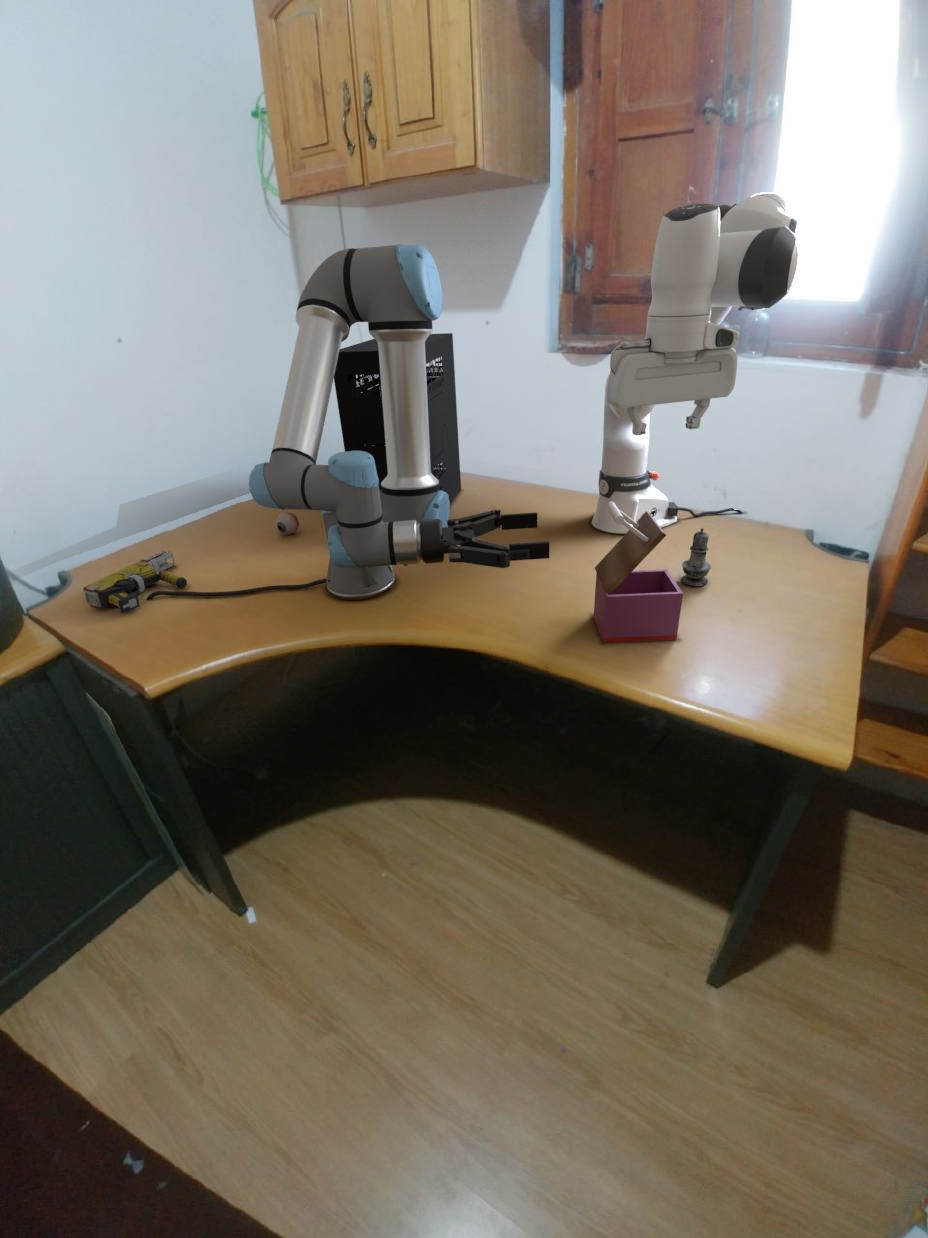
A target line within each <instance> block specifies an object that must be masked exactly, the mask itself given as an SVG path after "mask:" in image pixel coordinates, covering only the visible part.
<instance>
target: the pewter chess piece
mask: <svg viewBox="0 0 928 1238" xmlns="http://www.w3.org/2000/svg"><path fill="white" fill-rule="evenodd" d="M708 543H709V534H708V533H707V532H706V531H705V529H704V527H701V528H700V530H699V531H697V532H695V533H694V534H693V539H692V545H691V546H690V547H689V549H690V556H689V558H688V559H685V560H684V561H683V562H682V563H681V566H682V570H683V573H684V575H683V576H681V582H682V583H683V584H685V585H688V586H692V587H702V586H705V585H707V584H708V579H707V578H706V576H707V575H708V574H709V572H710V571H711V569H712V565H711V563H709V561H706V558H707V552H709V548H708Z"/></svg>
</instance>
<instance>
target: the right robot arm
mask: <svg viewBox="0 0 928 1238" xmlns="http://www.w3.org/2000/svg"><path fill="white" fill-rule="evenodd" d="M800 240H801V224H800V221H799V220H798V219H797V218H795V217H794V210H793V206H792V203H791V202H790V201H789V199H788V198H787V197H786V196H784V195H782V194H781V193H779V192H778V193H777V192H772V191H771V192H770V191H769V192H767V191H765V192H759V193H755V194H753V195H750V196H749V197H746V198H744V199H743V200H741V201H739V202H738V203H734V204H733V205H729V204H719V205H716V204H714V203H713V204H712V203H695V204H689V205H685V206H680V207H676V208H673V209H671V210H669V211H667V212H666V213H665V214H664V215H663V216H662V217H661V220H660V224H659V227H658V230H657V236H656V241H655V245H654V251H653V258H652V264H651V265H652V266H651V274H650V286H651V302H650V306H649V308H648V311H647V319H646V329H645V330H646V331H645V337H644V338H642V339H637V340H624V341H621V342H619V344H618V345H616V346H615V347H614V348H613V350H612V351H611V353H610V358H609V359H610V360H609V367H610V371H609V374H608V376H607V378H606V379H605V384H604V400H603V401H604V403H603V431H602V432H603V435H602V436H603V437H602V453H601V468H600V470H599V474H598V492H599V493H598V498H597V502H596V507H595V511H594V514H593V517H592V520H591V525H592V526H593V527H594V528H595V529H597V530H599V531H601V532H605V533H611V534H623V535H625V534H626V533H627V532H628V531H629V529H627V528H626V527H625V526H623V525H622V524H620V525H618V524H616V522H615V521H614V519H613V517H612V516H611V514H610V512H609V510H608V509H607V503H609V502H614V503H615V505H616V506H617V508H618V509H619V510H620V511H622V512H623V513H624V514H626V515H627V516H628V517H630V518H631V519H632V520H634V521H635V522H637V521H638V520H639V519H640V518H641V517H642V515H643V514H644V513H645V512H646V511H647V512H648V513H650V514H651V515H652V517H653V518H654V519H655V521H656V522H657V523H658V525H659V526H660V527H661V529H662V528H665V527H668V526H670V525H672V524H675V523H677V522H678V513H679V511H681V512H682V511H683V512H688V513H690V514H691V516H693V517H695V518H697V517H702V516H704V515H718V514H724V513H728V512H736V513H738V514H740V515H741V514H744V512H743V511H742V510H740V509H739V510H734V509H733V508H734V507H729V508H724V509H721V510H710V511H709V510H708V511H702V512H699V513H696V512H694V510H692V509H690V508H687V507H678V505H677V504H676V503H675V502H674V501H669V498H668V497H667V496H666V495H665V494H664V493H663V492H661V491H660V490H659V489H658V488H656V487H655V486H654V485H652V483H651V480H653V481H658V479H659V478H660V473H659V472H657V471H654V470H651V471H649V470H648V469H647V466H648V458H649V457H648V455H649V447H650V413H652V411H653V410H654V408H655V406H656V405H657V406H658V405H664V404H665V405H666V404H675V403H683V402H693V405H696V406H695V407H694V409H693V411H692V413H691V415H688V416H686V419H685V421H686V423H685V429H688V430H696V429H699V428H700V427H701V420H702V418H703V417H704V415H705V413H706V412H707V410H708V409H709V407H710V403H711V399H720V398H727V397H729V396H730V395H731V393H732V392H733V390H734V388H735V385H736V377H737V370H738V353H737V351H736V349H735V348H734V347H736V346H737V345H738V344H739V340H740V332H739V331H738V330H735V329H732V328H728V327H725V326H722V325H721V323H722V322H723V321H724V320H725V318H726V317H727V315H728V314H729V313H730V311H731V310H732V308H734V307H736V308H737V307H738V309H737V310H738V311H739V312H740V311H742V310H743V309H746V310H750V311H757V310H762V309H771V308H772V307H773V306H775V305H776V304H778V303H779V302H780V301H781V300H783V298H784V297H786V296H787V295H788V294H789V291H790V289H791V287H792V285H793V284H794V281H795V279H796V275H797V273H798V267H799V259H800V250H799V244H800ZM624 520H625V519H624ZM625 521H626V520H625ZM626 522H627V521H626ZM627 523H629V522H627ZM629 524H630V523H629ZM630 525H631V524H630ZM631 526H633V525H631Z"/></svg>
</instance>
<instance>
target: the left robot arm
mask: <svg viewBox="0 0 928 1238" xmlns="http://www.w3.org/2000/svg"><path fill="white" fill-rule="evenodd" d="M443 302H444V301H443V290H442V282H441V278H440V273H439V271H438V267H437V265H436V262H435V259H434V257H433V256H432V254H431V252H430V251H429V250H428V249H427V248H426V247H425V246H422V245H420V244H403V243H402V244H401V243H399V244H392V245H391V244H390V245H382V246H381V245H379V246H370V247H369V246H368V247H358V248H354V247H353V248H352V247H351V248H345V249H341V250H338V251H335V252H334V253H333V254H331V255H329V256H328V257H327V258H325V259H324V260H323V261H322V262H321V263H320V264H319V266H317V268H316V269H315V271H314V272H313V273H312V275H311V276H310V277H309V279H308V280H307V282H306V284H305V287H304V288H303V290H302V292H301V295H300V297H299V299H298V304H297V307H296V312H295V322H296V324H297V326H298V332H297V335H296V340H295V345H294V349H293V354H292V358H291V363H290V368H289V372H288V376H287V381H286V385H285V390H284V395H283V399H282V403H281V408H280V412H279V417H278V422H277V427H276V431H275V436H274V440H273V445H272V449H271V453H270V457H269V461H266V462H262V463H260V462H259V463H257V464H256V465H254V468H253V469H252V470H251V471H250V473H249V478H248V486H249V492H250V495H251V497H252V499H253V500H254V501H255V503H257V504H258V506H260V507H264V508H269V509H277V510H282V511H284V510H304V511H306V510H307V511H319V512H320V514H321V516H322V521H323V526H324V532H325V536H326V537H325V538H326V542H327V548H328V554H329V562H328V568H327V571H326V572H327V574H326V577H325V578H322V579H318V580H314V581H311V582H307V583H302V584H278V585H277V584H275V585H266V586H259V587H253V588H247V589H239V590H227V591H189V590H188V591H187V590H185V591H184V590H177V591H176V590H175V591H174V590H156V591H154V592H151V593H150V594H149V595H147V597H146V600H145V601H151V600H153V599H154V598H156V597H158V596H169V597H171V596H175V597H178V596H179V597H181V596H185V597H187V596H188V597H202V598H203V597H206V598H207V597H228V596H230V597H231V596H240V595H241V596H242V595H249V594H254V593H262V592H268V591H278V590H279V591H281V590H302V589H308V588H312V587H315V586H318V585H322V584H323V585H324V584H326V590H327V593H328V594H329V595H330V596H332V597H333V598H336V599H339V600H345V601H362V600H363V601H364V600H368V599H373V598H376V597H379V596H382V595H383V594H385V593H387V592H389V591H390V590H391V589H393V588H394V586H395V585H396V575H395V571H394V569H393V566H402V565H403V566H404V567H408V566H409V565H418V564H420V563H421V561H422V562H423V563H425V564H439V563H440V564H441V563H444V561H445V555H448V561H449V563H453V564H457V563H461V564H462V563H465V564H471V565H478V566H484V567H491V568H499V569H506V568H509V567H510V566H511V562H513V561H516V562H517V561H528V560H531V561H532V560H544V559H545V560H546V559H550V556H551V555H550V550H551V549H550V547H551V543H550V541H549V540H548V541H532V542H531V541H530V542H517V543H516V542H515V543H509V545H508V546H506V545H503V544H499V543H494V542H491V541H486V540H482V539H478V537H481V536H484V535H486V534H488V533H491V532H493V531H495V530H498V529H500V528H501V531H510V530H512V531H513V530H525V529H527V530H528V529H537V528H538V512H523V513H508V514H507V513H506V514H501V512H502V511H501V509H495V510H494V509H493V510H488V511H485V512H480V513H477V514H472V515H468V516H463V517H460V518H453V519H449V518H450V509H451V508H450V507H451V504H450V502H449V499H448V498H449V496H448V494H447V493H446V492H444V491H439V480H438V479H437V478H436V477H435V476H434V475H432V473H431V466H430V444H429V422H428V401H427V379H426V366H427V364H426V358H425V341H426V339H427V338H428V336H429V335H430V334H433V330H434V329H433V322H434V321H436V320H438V319H439V318H440V317H441V316H442V313H443V304H444V303H443ZM356 323H367V327H368V334H369V335H370V336H371V337H372V339H375V340H376V341H377V343H378V349H379V363H380V376H381V389H382V402H383V415H384V429H385V442H386V455H387V468H388V475H387V477H386V478H385V479H384V480H383V481H382V482H381V489H379V478H378V476H377V471H376V466H375V461H374V458H373V456H372V455H371V454H369V453H367V452H364V451H349V452H347V451H345V450H344V451H341V452H340V451H339V452H337V453H334V454H333V455H331V456H330V457H328V461H327V462H328V463H327V464H317V460H318V455H319V450H320V447H321V440H322V437H323V431H324V426H325V422H326V417H327V414H328V413H327V412H328V407H329V402H330V398H331V393H332V388H333V383H334V374H335V370H336V365H337V360H338V355H339V351H340V349H341V347H342V343H343V342H344V341H346V340H347V339H348V337H349V335H350V331H351V327H352V326H353V325H354V324H356Z"/></svg>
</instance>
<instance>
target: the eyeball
mask: <svg viewBox="0 0 928 1238" xmlns="http://www.w3.org/2000/svg"><path fill="white" fill-rule="evenodd" d="M299 525H300V522H299V519H298V517H297V516H296V515H295V514H294V513H292V512H287V511H286V512H282V513H280V514H279V515H278V516H277V517H276V520H275V527H276V529H277V530H278V531H279V532H280V533H281V534H282V535H285V536H286V535H287V536H289V535H293V534H295V533H296V532H297V531H298V529H299Z"/></svg>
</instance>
